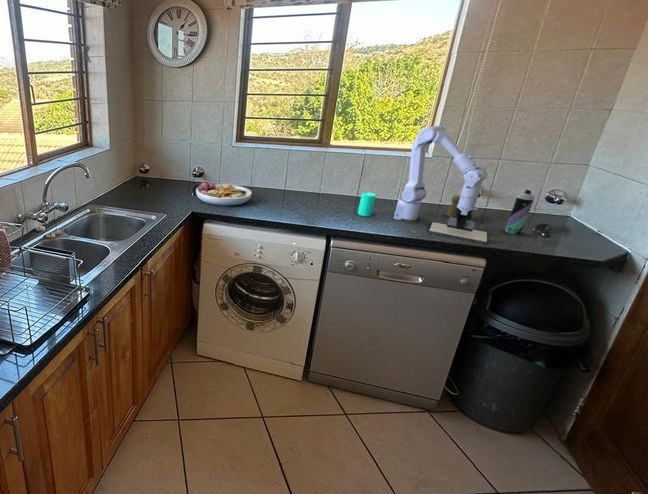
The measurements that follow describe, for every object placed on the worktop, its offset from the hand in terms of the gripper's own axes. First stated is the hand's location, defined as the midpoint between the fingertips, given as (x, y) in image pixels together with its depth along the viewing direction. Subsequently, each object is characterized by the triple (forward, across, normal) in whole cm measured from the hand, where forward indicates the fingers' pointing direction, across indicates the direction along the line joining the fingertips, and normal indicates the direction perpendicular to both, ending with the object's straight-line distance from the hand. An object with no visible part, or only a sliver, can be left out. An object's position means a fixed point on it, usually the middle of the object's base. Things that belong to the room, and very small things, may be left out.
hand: (459, 226), depth 175 cm
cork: (+4, +26, +3) cm, 26 cm away
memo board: (+4, +1, 0) cm, 4 cm away
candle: (+4, +3, +38) cm, 38 cm away
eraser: (+1, 0, 0) cm, 1 cm away
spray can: (+4, +16, -19) cm, 25 cm away
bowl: (+4, -20, +105) cm, 107 cm away
